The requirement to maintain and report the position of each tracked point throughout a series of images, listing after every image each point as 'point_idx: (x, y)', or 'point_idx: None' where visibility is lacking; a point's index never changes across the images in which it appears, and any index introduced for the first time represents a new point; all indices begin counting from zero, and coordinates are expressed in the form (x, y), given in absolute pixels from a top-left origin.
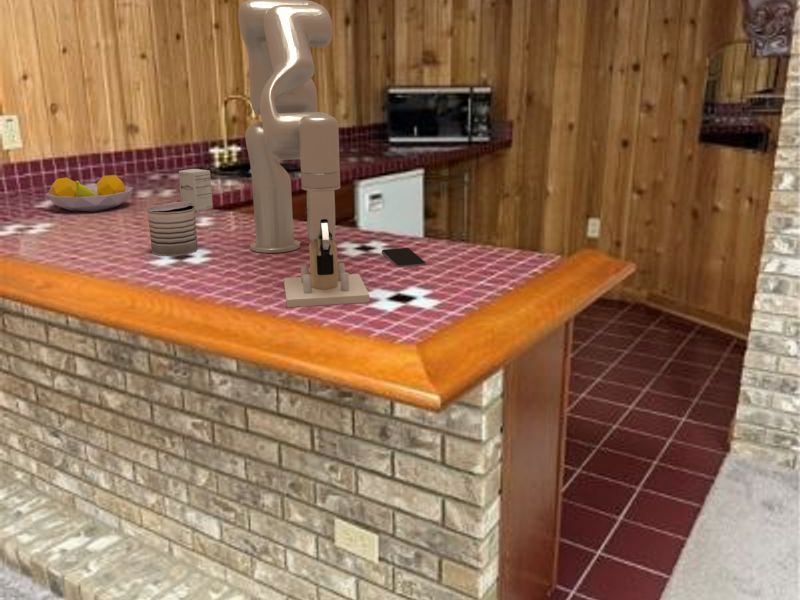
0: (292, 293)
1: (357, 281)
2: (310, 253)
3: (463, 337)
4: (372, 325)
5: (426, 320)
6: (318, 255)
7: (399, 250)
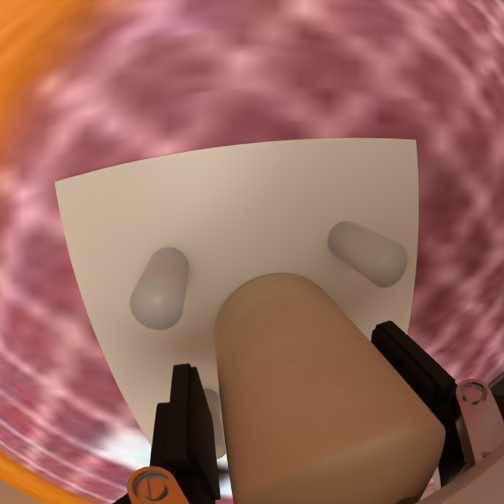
0: (150, 192)
1: None
2: (300, 404)
3: (24, 479)
4: (4, 408)
5: (67, 476)
6: (136, 472)
7: (502, 392)
